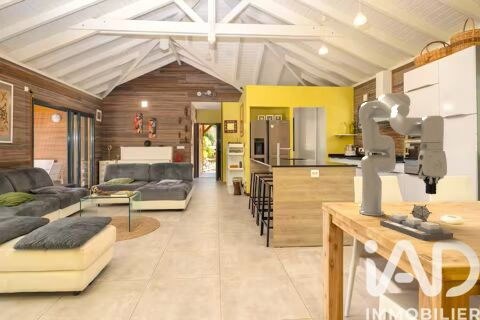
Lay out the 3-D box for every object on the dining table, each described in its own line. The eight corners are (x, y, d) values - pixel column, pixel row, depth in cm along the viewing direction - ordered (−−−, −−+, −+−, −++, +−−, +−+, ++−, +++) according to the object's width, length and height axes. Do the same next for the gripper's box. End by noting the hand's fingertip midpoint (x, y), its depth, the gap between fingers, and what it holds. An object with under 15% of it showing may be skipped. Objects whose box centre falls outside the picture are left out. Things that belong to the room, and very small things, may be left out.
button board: (380, 224, 135) (380, 217, 135) (405, 223, 138) (406, 215, 138) (423, 240, 112) (423, 231, 112) (453, 238, 115) (453, 229, 115)
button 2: (420, 227, 119) (420, 222, 119) (429, 226, 120) (429, 221, 120) (430, 230, 114) (430, 225, 114) (439, 229, 115) (439, 224, 115)
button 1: (392, 218, 134) (392, 213, 134) (400, 217, 135) (400, 213, 135) (399, 220, 130) (399, 216, 130) (407, 220, 131) (407, 215, 131)
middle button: (405, 222, 126) (405, 217, 126) (414, 221, 127) (414, 217, 127) (413, 225, 122) (413, 220, 122) (422, 224, 123) (422, 219, 123)
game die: (422, 228, 144) (433, 211, 145) (426, 225, 136) (438, 208, 137) (404, 217, 148) (414, 201, 148) (407, 214, 140) (418, 197, 141)
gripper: (423, 147, 111) (422, 195, 111) (456, 147, 114) (455, 194, 115) (408, 147, 118) (407, 193, 119) (439, 147, 121) (438, 191, 122)
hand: (430, 193), depth 117 cm, fingers closed
